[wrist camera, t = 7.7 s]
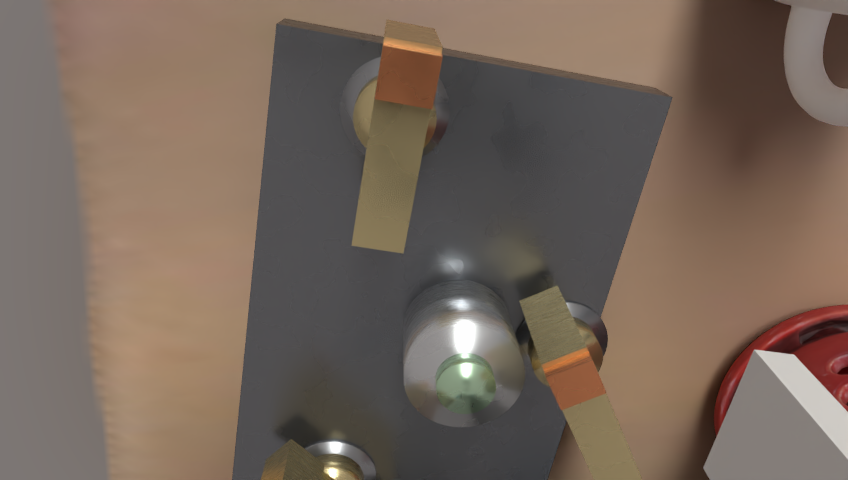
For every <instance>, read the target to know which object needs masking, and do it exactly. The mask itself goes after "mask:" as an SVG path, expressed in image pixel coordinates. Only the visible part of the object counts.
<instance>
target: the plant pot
mask: <svg viewBox="0 0 848 480" xmlns="http://www.w3.org/2000/svg"><path fill="white" fill-rule="evenodd" d="M754 350H762V351H770V352H778V353H786V354H794V355H795V356H796V357H797V358H798V359H799V360H800V362H801V363H802V364H803V365H804V366H805V367H806V368H807V369H808V370H809V371H810V372H811V373H812V374H813V375H814V376H815V378H816V379H817V380H818V381H819V382H820V383H821V384H822V385H823V386H824V387H825V388H826V389H827V390H828V391H829V392H830V394H831V395H832V396H833V397H834V398H835V399H836V400H837V401H838V402H839V403H840V404H841V405H842V406H843V407H844V408H845V409H846V411H847V412H848V305H837V306H830V307H823V308H819V309H815V310H811V311H807V312H805V313H802V314H799V315H796V316H794V317H792V318H789V319H787V320H785V321H783V322H781V323H779V324H778V325H776V326H774V327H772V328H771V329H769V330H768V331H766V332H765V333H764V334H762V335H761V336H759V337H758V338H757V339H756V340H754V341H753V342H752V343H751V344H750V345H749V346H748V347H747V348H746V349H745V350H744V351H743V352H742V353H741V354H740V355H739V357H738V358H737V359H736V360H735V362H734V363H733V364H732V366H731V367H730V369H729V371H728V372H727V374H726V376H725V378H724V379H723V382H722V384H721V386H720V390H719V393H718V395H717V399H716V404H715V411H714V426H715V433H716V437H717V435H718V432H719V430H720V428H721V425H722V423H723V421H724V418H725V416H726V414H727V411H728V409H729V407H730V404H731V402H732V400H733V397H734V395H735V393H736V390H737V388H738V386H739V383H740V381H741V379H742V376H743V374H744V372H745V369H746V367H747V365H748V362H749V360H750V358H751V355H752V353H753V351H754Z"/></svg>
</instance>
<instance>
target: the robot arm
mask: <svg viewBox="0 0 848 480" xmlns="http://www.w3.org/2000/svg"><path fill="white" fill-rule="evenodd" d="M703 469H704V470H705V472H706V474H707V476H708V477H709V479H710V480H848V412H847V411H846V409H845V408H844V407H843V406H842V405H841V404H840V403H839V402H838V401H837V400H836V399H835V398H834V397H833V396H832V395H831V394H830V392H829V391H828V390H827V389H826V388H825V387H824V386H823V385H822V384H821V383H820V382H819V381H818V380H817V379H816V378H815V376H814V375H813V374H812V373H811V372H810V371H809V370H808V369H807V368H806V367H805V366H804V365H803V364H802V363H801V362H800V360H799V359H798V358H797V357H796V356H795V355H794V354H786V353H778V352H770V351H762V350H754V351H753V353H752V355H751V358H750V360H749V362H748V365H747V367H746V369H745V372H744V374H743V376H742V379H741V381H740V383H739V386H738V388H737V390H736V393H735V395H734V397H733V400H732V402H731V404H730V407H729V409H728V411H727V414H726V416H725V418H724V421H723V423H722V425H721V428H720V430H719V432H718V435H717V437H716V439H715V442H714V444H713V446H712V449H711V451H710V453H709V456H708V458H707V460H706V462H705V465H704V467H703Z"/></svg>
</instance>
